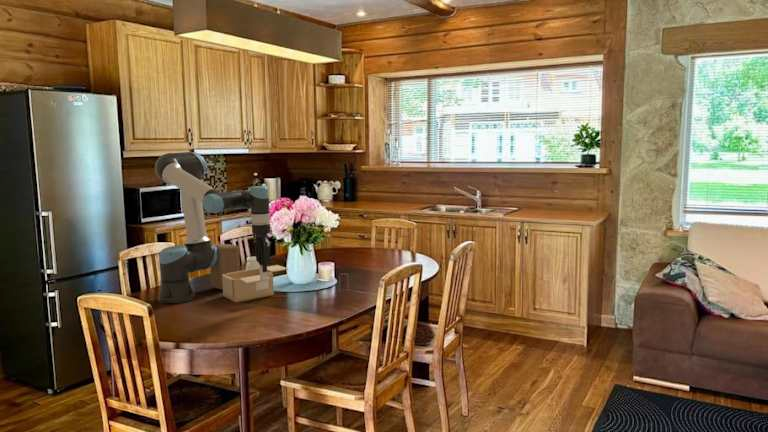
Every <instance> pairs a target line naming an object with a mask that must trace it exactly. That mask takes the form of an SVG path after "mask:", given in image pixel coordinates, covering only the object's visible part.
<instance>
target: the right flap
mask: <svg viewBox="0 0 768 432" xmlns="http://www.w3.org/2000/svg"><path fill="white" fill-rule="evenodd" d="M287 270H289V269H288V268H287V267H285V266H282V265H279V264H275V265H270V266H269V265H268V266H267V271H268V272H270V273H274V272H281V271H287Z"/></svg>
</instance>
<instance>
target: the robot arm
mask: <svg viewBox="0 0 768 432" xmlns="http://www.w3.org/2000/svg"><path fill="white" fill-rule="evenodd" d="M154 171H155V175H156V176H157V177H158V178H159V180H161V181H163V182H164V183H166V184H168V185H171V184H172V185H173V186H174V187H176V188H178V189H179V191H180V196H181V204H182V210H183V211H182V212H183V216H184V217H183V218H184V224H185V232H186V240H185V241H184V244H178V245H171V246H168V247H165V248H163V249H162V250H160V251H159V253H158V254H159V255H158V257H159V259H158V262H159V272H160V282H161V283H160V287H159V292H158V294H157V299H158V300H157V301H159V302H161V303H160V304H163V303H177V304H183V303H187V302H190V301H192V300H193V299H195V291H194V289H193V287H192V285H191V282H190V276H189V275H190V274H191V273H197V272H199V271H205V270H208V269H211V267H213V266H214V265H215V263H216V262H217V259H218V250H217V247H216V246H215V245H216V244H215V243H213V242H212V241H211V238H209V237H208V236H207V229H206V221H205V213H204V210H205V211H206V212H207V213H209V214H212V213H214V214H215V213H216V214H217V213H221V212H226V211H234V210H241V209H243V210H244V209H248V210H249V209H250V218H251V220H250V221H251V224H252V225H251V232H252V234H254V235H255V236H254V237H255V238H253V239H252V243H253V247H254V252H255V253H254V254H255V256H256V261H257V262H258V263H259V266H260V280H266V279H268V275H267V267H268V264H271V263H270V261H271V260H270V259H271V249H272V248H271V247H272V241H269V236H268V234H270V233H271V230H272V229H271V224H270V222H271V214H270V195H269V194H270V193H269V188H268V187H267V186H265V185H257V186H256V185H255V186H254V185H253V186H250V188H249V190H242V189H236V190H235V189H234V190H232V191H226V192H220V191H218V190H217V189H215V188H213V187H212V186H210V185H209V184H207V183H205V182H204V181H203V177H204V176H205V175H206V172H207V164H206V161H205V159H204V157H203V156H202V155H201V154H200V153H198V152H191V151H187V152H186V151H185V152H184V151H183V152H168V153H165V154H161V156H159V157H158V159H157V160H156V161H155V165H154ZM159 302H158V303H159ZM182 302H183V303H182Z"/></svg>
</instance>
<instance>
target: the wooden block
mask: <svg viewBox="0 0 768 432" xmlns="http://www.w3.org/2000/svg"><path fill="white" fill-rule="evenodd" d="M214 245H215V246H216V247H217V250H218V259H217V262H216V263H215V265H214V266H213V267H211V268H210V287H212V288H215V289H217V290H222V291H223V283H222V274H227V273H231V272H237V271H240V253H241V252H240V250H241V249H240V246H238V245H235V244H230V243H224V244H223V243H221V244H214Z"/></svg>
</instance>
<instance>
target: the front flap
mask: <svg viewBox="0 0 768 432" xmlns="http://www.w3.org/2000/svg"><path fill="white" fill-rule="evenodd" d="M240 280H241V281H243V282H244V283H246V284H248V283H254V282H259V281H265V280H260V275H256V276H250V277H245V278H240ZM266 280H270V278H269V277H268V279H266Z"/></svg>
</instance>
